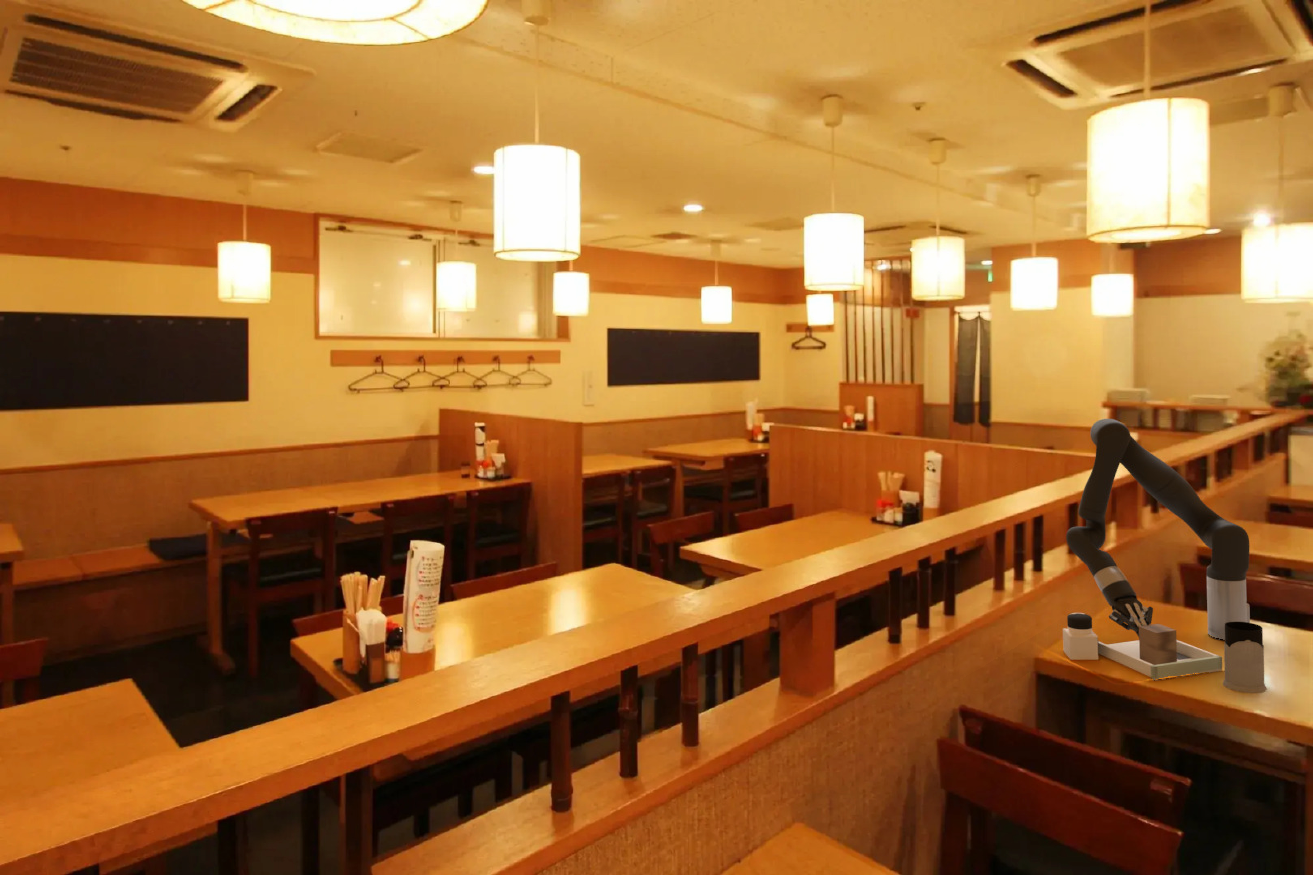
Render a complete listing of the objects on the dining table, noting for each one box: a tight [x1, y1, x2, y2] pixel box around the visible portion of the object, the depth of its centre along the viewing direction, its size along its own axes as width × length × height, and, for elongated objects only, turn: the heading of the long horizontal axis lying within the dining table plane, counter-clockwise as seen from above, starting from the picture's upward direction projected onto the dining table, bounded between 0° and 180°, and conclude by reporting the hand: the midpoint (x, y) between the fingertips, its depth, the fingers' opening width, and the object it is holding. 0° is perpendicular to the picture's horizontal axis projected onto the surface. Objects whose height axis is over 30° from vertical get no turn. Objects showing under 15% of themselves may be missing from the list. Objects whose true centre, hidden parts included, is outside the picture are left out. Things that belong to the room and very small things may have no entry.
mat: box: [1177, 652, 1191, 660], centre depth 220 cm, size 4×6×1 cm, turn 10°
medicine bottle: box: [1062, 612, 1099, 662], centre depth 225 cm, size 7×7×12 cm
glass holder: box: [1222, 621, 1267, 694], centre depth 201 cm, size 9×14×15 cm, turn 157°
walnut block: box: [1138, 623, 1178, 665], centre depth 217 cm, size 6×6×9 cm
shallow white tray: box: [1098, 639, 1223, 681], centre depth 220 cm, size 20×25×4 cm
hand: (1148, 641), depth 220 cm, fingers closed
